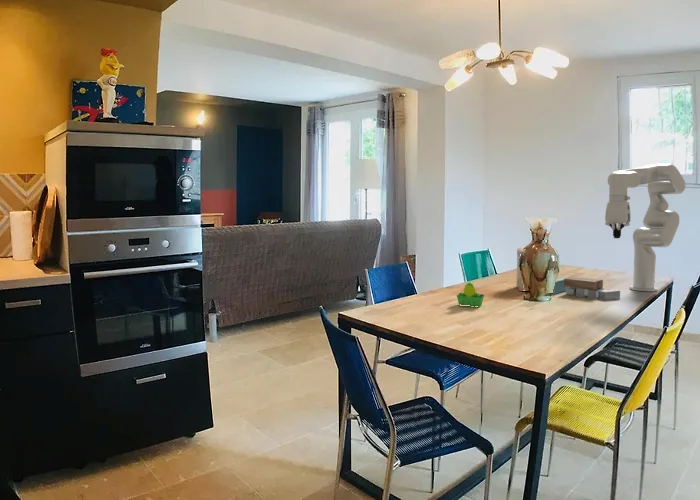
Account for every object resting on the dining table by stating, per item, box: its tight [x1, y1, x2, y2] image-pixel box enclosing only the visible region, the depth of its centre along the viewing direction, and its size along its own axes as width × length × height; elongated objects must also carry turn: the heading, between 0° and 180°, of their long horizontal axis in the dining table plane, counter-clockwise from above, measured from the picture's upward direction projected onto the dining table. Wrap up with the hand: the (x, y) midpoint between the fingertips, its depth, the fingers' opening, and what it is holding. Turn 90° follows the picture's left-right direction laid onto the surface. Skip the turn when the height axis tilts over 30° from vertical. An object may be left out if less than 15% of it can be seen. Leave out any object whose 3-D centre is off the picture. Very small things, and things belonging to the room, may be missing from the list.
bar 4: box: [597, 289, 621, 301], centre depth 256 cm, size 9×4×4 cm, turn 109°
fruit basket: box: [456, 282, 485, 308], centre depth 245 cm, size 11×9×11 cm
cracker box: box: [515, 247, 524, 292], centre depth 282 cm, size 14×6×21 cm, turn 168°
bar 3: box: [586, 287, 605, 300], centre depth 261 cm, size 9×4×4 cm, turn 135°
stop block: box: [552, 277, 568, 295], centre depth 275 cm, size 14×3×6 cm, turn 132°
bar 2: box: [575, 288, 588, 298], centre depth 265 cm, size 9×4×4 cm, turn 140°
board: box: [563, 275, 604, 290], centre depth 265 cm, size 9×15×4 cm, turn 42°
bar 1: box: [565, 287, 576, 296], centre depth 270 cm, size 8×4×3 cm, turn 135°
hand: (616, 238), depth 257 cm, fingers closed
